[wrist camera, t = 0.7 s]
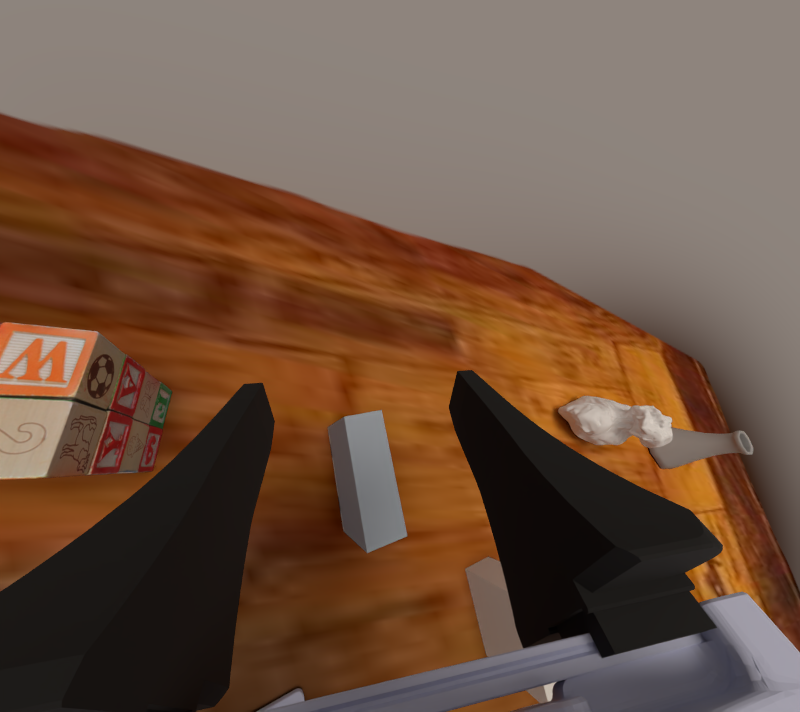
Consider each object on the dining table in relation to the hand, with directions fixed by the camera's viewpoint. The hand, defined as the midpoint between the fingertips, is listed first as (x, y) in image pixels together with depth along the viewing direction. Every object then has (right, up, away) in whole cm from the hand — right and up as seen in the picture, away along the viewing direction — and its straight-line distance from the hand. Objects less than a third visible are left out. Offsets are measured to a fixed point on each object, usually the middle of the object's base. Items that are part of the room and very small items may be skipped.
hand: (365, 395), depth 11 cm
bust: (+27, -8, +30) cm, 42 cm away
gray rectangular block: (-3, -9, +16) cm, 18 cm away
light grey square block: (+10, -23, +17) cm, 30 cm away
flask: (+44, -13, +36) cm, 59 cm away
